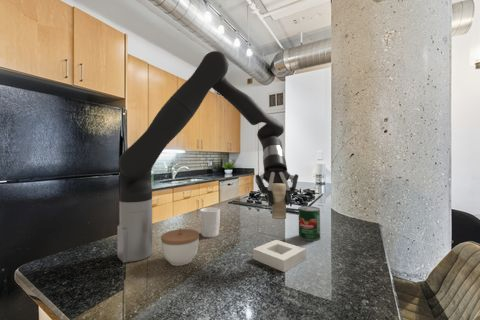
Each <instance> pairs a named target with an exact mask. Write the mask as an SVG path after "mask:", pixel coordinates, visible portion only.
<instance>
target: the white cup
mask: <svg viewBox="0 0 480 320" xmlns="http://www.w3.org/2000/svg"><path fill="white" fill-rule="evenodd" d="M199 214H200V215H199V216H200V219H199V220H200V229H201V236H202V237H204V238H214V237H217V236H219V235H220V225H221V224H220V220H221V209H220V208H219V207H211V206H210V207H203V208H201V209H199Z"/></svg>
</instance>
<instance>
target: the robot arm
mask: <svg viewBox="0 0 480 320" xmlns="http://www.w3.org/2000/svg"><path fill="white" fill-rule="evenodd" d="M228 71H229V61H228V58H227V56H226V54H225V53H223V52H222V51H219V50H212V51H210V52H208V53H207V54H205V55H204V56H203V58H202V60H201V62H200V63H199V65H198V66H197V68H196V69H195V71H194V72H193V73H192V74H191V76H189V78H188V79H187V80H186V81H185V82H184V83H183V84H182V85H181V86H180V87H178V89H177V90H176V91H175V92H174V93H173V94H172V95H171V96H170V97H169V99H168V100H166V102H165V103H164V104H163V105H162V107H161V108H160V110H159V111H158V112H157V114H155V117H154V118H153V120H152V121H151V123H150V124H149V126H148V128H147V129H146V130H145V132H143V134H142V135H141V136H140V137H138V139H137V140H136V141H134V142H133V143H132V144H131V145H130V146H128V148H127V149H126V150H124V152H122V153H121V155H120V156H119V160H118V167H119V193H118V194H119V197H118V198H119V199H118V200H119V205H118V206H119V209H118V210H119V212H118V213H119V224H118V225H117V232H116V233H117V234H116V235H117V237H116V238H117V241H116V242H117V244H116V245H117V247H116V249H117V252H116V253H117V254H116V255H117V258H118V259H119V260H120V261H121V262H122V263H128V262H137V261H142V260H145V259H147V258H149V257H151V256H152V255H153V189H152V188H153V187H152V168H153V167H154V165H155V164H156V161H157V160H158V159H159V157H160V156H161V154H162V153H163V151H164V150H165V148H166V147H167V146H168V145H169V144H170V142H172V140H173V139H175V137H177V136H178V134H179V133H180V132H181V131H182V130H183V129H184V128H185V127H186V126H187V124H188V123H189V122H190V121H191V119H192V118H193V117H194V115H195V114H196V112H197V111H198V109H199V108H200V107H201V105H202V103H203V102H204V99H205V98H206V96H207V94H208V93H209V92H210V90H211V89H213V90H214V91H215V92H217V93H218V94H219V95H220V96H222V97H223V98H224V99H225V100H227V102H229V103H230V104H231V106H233V107H234V108H235V109H236V110H237V112H239V114H240V115H241V116H243V118H244V119H246V120H247V123H249V124H250V125H251V126H257V125H258V124H260V123H264V125H263V126H262V127H260V128H259V129H258V130H257V133H256V136H257V139H258V141H259V142H260V144H261V146H262V163H263V174H262V175H259V174H256V175H255V183H256V185H257V187H258V189H259V191H260V193H261V194H266V195H267V203H268V204H270V206H272V205H273V192H272V184H273V183H284V184H286V206H290V204H291V202H292V196H291V194H292V195H294V194H295V193H296V192H295V191H296V189H297V186H298V185H297V184H298V179H299V175H298V174H294V175H292V174H290V172H289V171H288V168H287V167H288V166H287V161H286V156H285V153H284V149H283V145H282V141H281V138H279V137H280V136H282V135H283V134H284V131H285V127H284V125H283V123H282V122H281V121H280V120H278V119H277V118H275V117H273V116H272V115H271V114H269V113H267V112H266V111H264V109H262V107H261V106H260V105H259V104H258V103H257V102H256V101H255V99H253V98H252V97H251V96H249V95H248V94H247V93H245V92H244V91H241V90H240V89H238V88H237V87H235V86H234V85H233V83H231V82H230V81H229V80H228V78H227V77H226V74H227V73H228ZM289 180H290V182H291V186H289V184H288V181H289ZM264 181H265V182H266V183H267V184H268V185H267V187H266V186H265V184H264Z"/></svg>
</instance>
